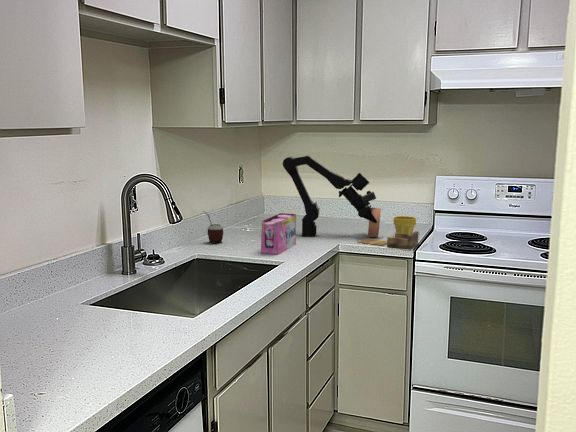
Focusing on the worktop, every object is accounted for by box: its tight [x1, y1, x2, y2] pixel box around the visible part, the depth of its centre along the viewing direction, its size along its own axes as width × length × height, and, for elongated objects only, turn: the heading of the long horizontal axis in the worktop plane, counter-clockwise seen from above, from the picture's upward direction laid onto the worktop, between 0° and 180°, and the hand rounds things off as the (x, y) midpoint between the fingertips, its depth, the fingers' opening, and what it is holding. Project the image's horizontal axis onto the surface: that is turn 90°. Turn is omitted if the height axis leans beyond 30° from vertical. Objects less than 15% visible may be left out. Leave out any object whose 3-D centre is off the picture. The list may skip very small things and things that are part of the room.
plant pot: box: [393, 215, 417, 234], centre depth 264 cm, size 10×10×10 cm
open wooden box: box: [386, 230, 420, 251], centre depth 247 cm, size 10×12×6 cm
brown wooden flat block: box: [356, 237, 387, 247], centre depth 254 cm, size 4×10×12 cm
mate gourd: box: [202, 210, 224, 245], centre depth 249 cm, size 8×8×15 cm
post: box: [367, 207, 382, 238], centre depth 264 cm, size 5×5×13 cm
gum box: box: [260, 212, 297, 255], centre depth 240 cm, size 24×8×14 cm, turn 160°
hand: (376, 221), depth 264 cm, fingers closed on post, 5 cm apart
